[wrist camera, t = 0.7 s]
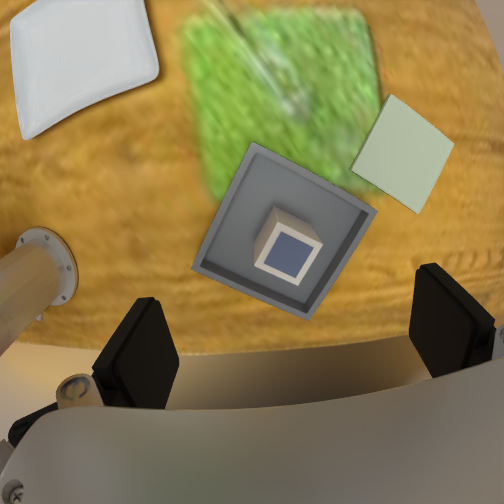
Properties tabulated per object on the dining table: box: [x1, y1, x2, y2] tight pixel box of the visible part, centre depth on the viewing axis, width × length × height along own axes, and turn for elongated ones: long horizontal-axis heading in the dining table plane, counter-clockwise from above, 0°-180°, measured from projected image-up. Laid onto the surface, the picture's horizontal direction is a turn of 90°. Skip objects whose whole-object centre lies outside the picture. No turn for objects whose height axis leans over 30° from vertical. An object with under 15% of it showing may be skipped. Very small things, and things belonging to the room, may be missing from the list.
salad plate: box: [10, 0, 159, 140], centre depth 27 cm, size 21×21×3 cm
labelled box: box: [254, 206, 323, 286], centre depth 33 cm, size 5×5×7 cm
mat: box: [349, 94, 454, 214], centre depth 33 cm, size 11×11×1 cm
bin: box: [191, 142, 378, 321], centre depth 36 cm, size 16×16×3 cm
